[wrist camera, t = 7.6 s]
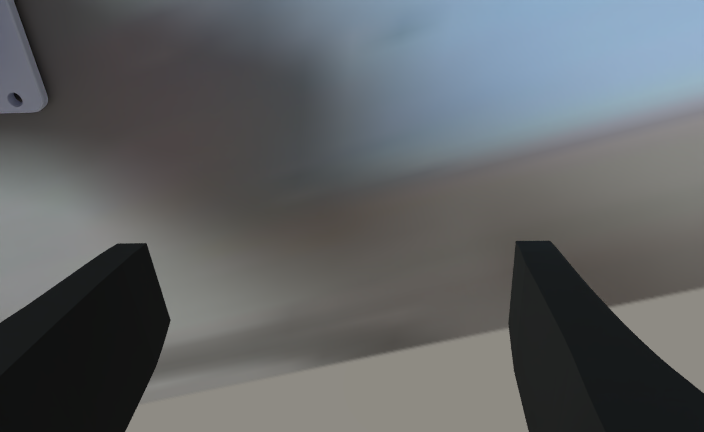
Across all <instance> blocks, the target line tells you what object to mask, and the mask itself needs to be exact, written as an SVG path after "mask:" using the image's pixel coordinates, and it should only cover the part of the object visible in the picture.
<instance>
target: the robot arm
mask: <svg viewBox="0 0 704 432" xmlns="http://www.w3.org/2000/svg"><path fill="white" fill-rule="evenodd" d="M14 93H16V94H18V95H19V96H20V97H21V99H22V102H19V101H18V100H17V99H16V98H15V97H14ZM47 103H48V96H47V93H46V90H45V87H44V84H43V82H42V79H41V76H40V73H39V70H38V68H37V65H36V62H35V59H34V56H33V54H32V51H31V48H30V45H29V42H28V39H27V37H26V34H25V31H24V28H23V25H22V23H21V20H20V17H19V14H18V11H17V9H16V6H15V3H14V0H0V113H34V112H38V111H40V110H41V109H43V108H44V107H45V106H46V105H47ZM169 324H170V317H169V314H168V311H167V308H166V304H165V301H164V298H163V295H162V292H161V288H160V285H159V282H158V279H157V275H156V272H155V269H154V266H153V263H152V259H151V256H150V253H149V250H148V247H147V243H134V244H116V245H115V246H113V247H111V248H109V249H108V250H106V251H105V252H103V253H102V254H100V255H99V256H97V257H96V258H94V259H93V260H91V261H90V262H88V263H87V264H85V265H84V266H83V267H81V268H80V269H78V270H77V271H75V272H74V273H73V274H71V275H70V276H68V277H67V278H66V279H64V280H63V281H61V282H60V283H58V284H57V285H56V286H54V287H53V288H51V289H50V290H48V291H47V292H46V293H44V294H43V295H41V296H40V297H38V298H37V299H36V300H34V301H33V302H31V303H30V304H28V305H27V306H25V307H24V308H22V309H21V310H19V311H18V312H16V313H15V314H13V315H11V316H10V317H8V318H7V319H5V320H4V321H2V322H1V323H0V432H125V430H126V429H127V427H128V424H129V422H130V420H131V418H132V416H133V414H134V412H135V410H136V408H137V406H138V404H139V402H140V400H141V397H142V395H143V393H144V391H145V389H146V387H147V385H148V383H149V380H150V378H151V376H152V374H153V372H154V370H155V367H156V365H157V362H158V359H159V356H160V353H161V350H162V347H163V344H164V341H165V337H166V334H167V331H168V327H169ZM509 332H510V341H511V350H512V357H513V365H514V372H515V376H516V381H517V385H518V389H519V393H520V397H521V401H522V405H523V410H524V414H525V418H526V422H527V426H528V430H529V432H704V393H702V392H701V391H700V390H699V389H698V388H696V387H695V386H694V385H693V384H691V383H690V382H689V381H688V380H686V379H685V378H684V377H683V376H681V375H680V374H679V373H678V372H676V371H675V370H674V369H672V368H671V367H670V366H669V365H668V364H667V363H665V362H664V361H663V360H662V359H661V358H660V357H659V356H657V355H656V354H655V353H654V352H653V351H652V350H651V349H650V348H649V347H648V346H647V345H645V344H644V343H643V342H642V341H641V340H640V339H639V338H638V337H637V336H636V335H635V334H634V333H633V332H632V331H631V330H630V329H629V328H628V327H627V326H626V325H625V324H624V323H623V322H622V321H621V320H620V319H619V318H618V317H617V316H616V315H615V314H614V313H613V312H612V311H611V310H610V309H609V308H608V307H607V305H606V304H605V303H604V302H603V301H602V300H601V299H600V298H599V297H598V296H597V295H596V294H595V293H594V291H593V290H592V289H591V288H590V287H589V286H588V285H587V284H586V282H585V281H584V280H583V279H582V278H581V277H580V275H579V274H578V273H577V272H576V271H575V270H574V268H573V267H572V266H571V265H570V264H569V262H568V261H567V260H566V259H565V258H564V256H563V255H562V254H561V253H560V251H559V250H558V249H557V248H556V247H555V246H554V245H553V244H552V243H551V242H550V241H516V246H515V257H514V268H513V279H512V290H511V301H510V312H509Z"/></svg>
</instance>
